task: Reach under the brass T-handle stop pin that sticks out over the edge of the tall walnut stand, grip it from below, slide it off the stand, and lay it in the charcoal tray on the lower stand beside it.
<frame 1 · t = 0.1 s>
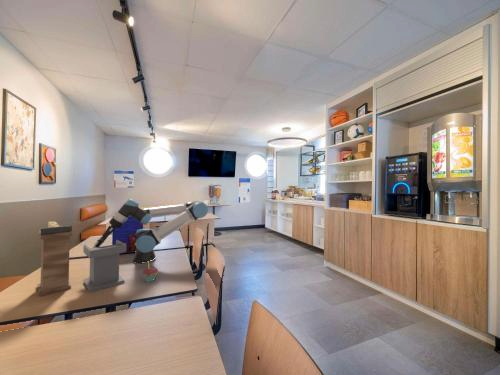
hand: (94, 248, 134), 15 cm above the table, tool tilted 35°, fingers open, 13 cm apart
cupcake: (149, 280, 127), on the table
cereal box: (127, 252, 178), on the table
tray stand: (102, 280, 123), on the table
stop pin: (55, 231, 114), point 30 cm above the table, touching pin stand
pin stand: (54, 287, 114), on the table
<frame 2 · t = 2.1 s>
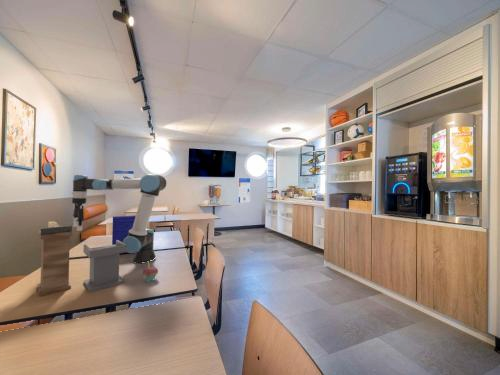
hand: (77, 228, 145), 25 cm above the table, tool pointing down, fingers open, 13 cm apart
nothing on the table moved.
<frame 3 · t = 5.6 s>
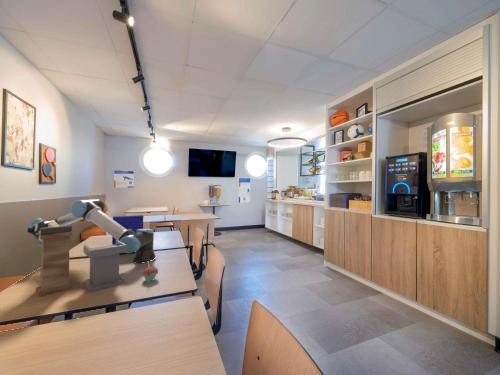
hand: (51, 224, 134), 29 cm above the table, tool pointing upward, fingers open, 13 cm apart
nothing on the table moved.
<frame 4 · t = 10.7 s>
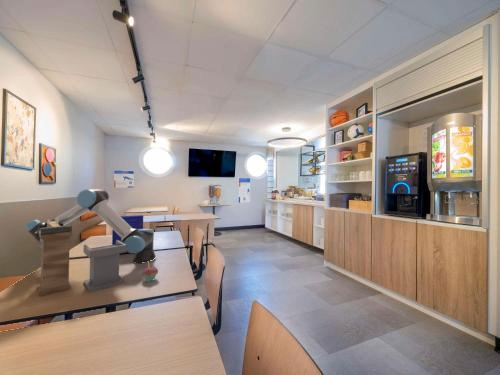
hand: (53, 221, 121), 34 cm above the table, tool pointing upward, fingers closed on stop pin, 3 cm apart
stop pin: (55, 231, 114), point 30 cm above the table, touching gripper, pin stand
everything else where it was.
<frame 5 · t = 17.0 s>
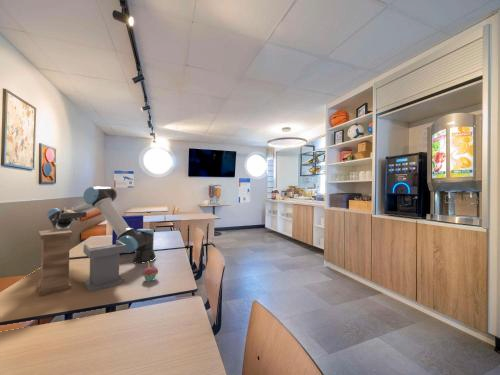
hand: (69, 208, 137), 40 cm above the table, tool pointing upward, fingers closed on stop pin, 3 cm apart
stop pin: (72, 217, 130), point 35 cm above the table, touching gripper
everything else where it was.
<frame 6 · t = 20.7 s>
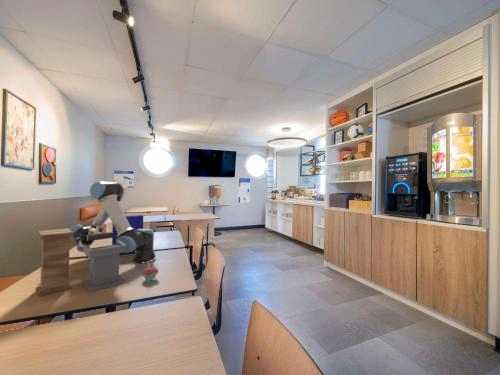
hand: (94, 228, 136), 28 cm above the table, tool pointing upward, fingers closed on stop pin, 3 cm apart
stop pin: (98, 237, 129), point 24 cm above the table, touching gripper
everything else where it was.
when the fingers open (25 cm above the table, at t = 23.6 s): stop pin drops 2 cm, resting on tray stand.
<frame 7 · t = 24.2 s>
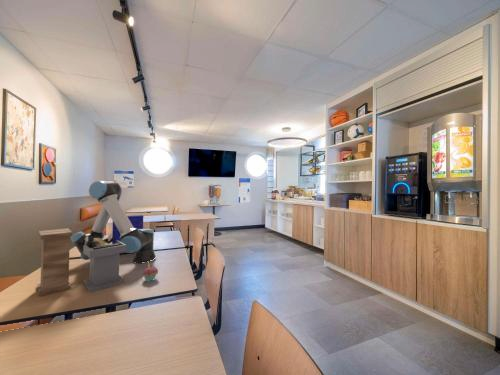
hand: (99, 237, 129), 24 cm above the table, tool pointing upward, fingers open, 11 cm apart
stop pin: (105, 249, 121), point 19 cm above the table, touching tray stand
everything else where it was.
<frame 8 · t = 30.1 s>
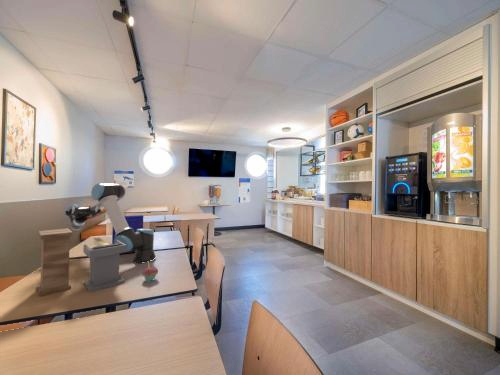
hand: (86, 206, 148), 40 cm above the table, tool pointing upward, fingers open, 13 cm apart
nothing on the table moved.
at the end: stop pin inside the target area on the tray stand (0.2 cm from its centre), point 19.0 cm above the tray stand's base; the gripper is holding nothing; stop pin tilted 0° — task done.
